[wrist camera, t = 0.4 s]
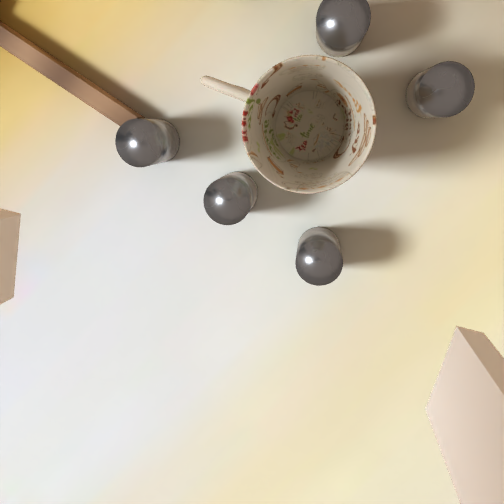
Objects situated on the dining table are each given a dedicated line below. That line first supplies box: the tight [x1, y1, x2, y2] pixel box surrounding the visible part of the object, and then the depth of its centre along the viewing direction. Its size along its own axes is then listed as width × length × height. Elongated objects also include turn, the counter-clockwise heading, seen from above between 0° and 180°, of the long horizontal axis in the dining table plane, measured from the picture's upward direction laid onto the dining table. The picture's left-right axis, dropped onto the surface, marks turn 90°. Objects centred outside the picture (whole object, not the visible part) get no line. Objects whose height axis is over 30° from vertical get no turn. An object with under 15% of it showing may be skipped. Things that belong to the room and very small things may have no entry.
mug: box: [201, 55, 377, 194], centre depth 34 cm, size 8×13×10 cm, turn 70°
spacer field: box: [116, 0, 475, 285], centre depth 37 cm, size 20×19×5 cm
